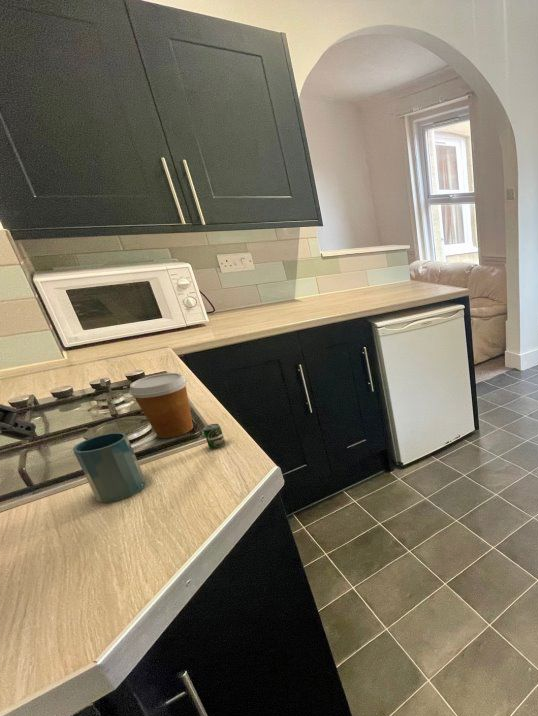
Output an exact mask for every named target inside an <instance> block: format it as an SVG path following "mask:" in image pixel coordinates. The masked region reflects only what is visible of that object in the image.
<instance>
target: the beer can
mask: <svg viewBox="0 0 538 716" xmlns="http://www.w3.org/2000/svg"><path fill="white" fill-rule="evenodd" d="M202 429H203V434H204V437H205V440H206V443H207V446H208V448H209V449H211V450H214V449H215V450H216V449H221V448H222V447H224V446H225V444H226V439H225V436H224V434H223V431H222V427H221V426H220V424H219V423H210V424H207V425H206V426H204V427H203V428H202Z"/></svg>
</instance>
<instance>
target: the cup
mask: <svg viewBox="0 0 538 716" xmlns="http://www.w3.org/2000/svg"><path fill="white" fill-rule="evenodd" d="M72 451H73V454H74V455H75V457H76V460H77V462H78V464H79V466H80V468H81V470H82V473H83V474H84V476H85V479H86V480H87V482H88V484H89V486H90V488H91V491H92V492H93V495H94V497H95V499H96V501H97V502H99V503H104V504H105V503H106V504H107V503H114V502H118V501H121V500H125V499H127V498H130V497H131V496H134V495H136V494H138V493H139V492H141V491H142V490H143V489H144V488H145V487H146V486H147V480H146V477H145V475H144V473H143V470H142V468H141V466H140V464H139V463H140V462H139V461H138V459H137V456H136V454H135V452H134V450H133V447H132V444H131V442H130V440H129V438H128V435H127V433H126V432H120V431H119V432H110V433H109V432H108V433H104V434H100V435H97V436H93V437H90V438H87V439H86V440H83V441H81V442H79V443H77V444H76V445H75V446H73V448H72Z"/></svg>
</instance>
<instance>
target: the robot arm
mask: <svg viewBox="0 0 538 716" xmlns="http://www.w3.org/2000/svg"><path fill="white" fill-rule="evenodd" d="M19 413H20V409H17V408H16V407H12V406H8V405H5V404H3V403H2V404H1V403H0V436H1V437H2V436H3V437H6V438H11V439H14V440H18V441H30V440H32V439H33V437H34V434H35V431H36V428H37V425H36V424H35V423H33V422H30V421H27V420H24V419H20V418H18V415H19Z"/></svg>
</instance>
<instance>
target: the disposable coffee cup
mask: <svg viewBox="0 0 538 716" xmlns="http://www.w3.org/2000/svg"><path fill="white" fill-rule="evenodd" d="M187 382H188V380H187V378H185V377H184V376H183V374H182V373H180V372H168V373H166V372H165V373H160V374H159V373H158V374H154V375H149V376H146V377H142V378H140V379H137V380H135V381H133V382H132V383H130V384H129V391H128V394H129V395H131V397H133V398H134V399H135V401H136V402H137V404H138V406H139V408H140V409H141V411H142V413H143V414H144V416H145V417H146V419H147V422H148V423H149V425H150V426H151V428H152V430H153V431H154V433H155V434H156V436H157V438H160V439H168V438H169V439H170V438H175V437H180V436H182V435H184V434H186V433H189V432H191V431H192V430H193V428H194V425H193V419H192V415H191V414H192V413H191V407H190V402H189V396H188V390H187Z"/></svg>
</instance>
